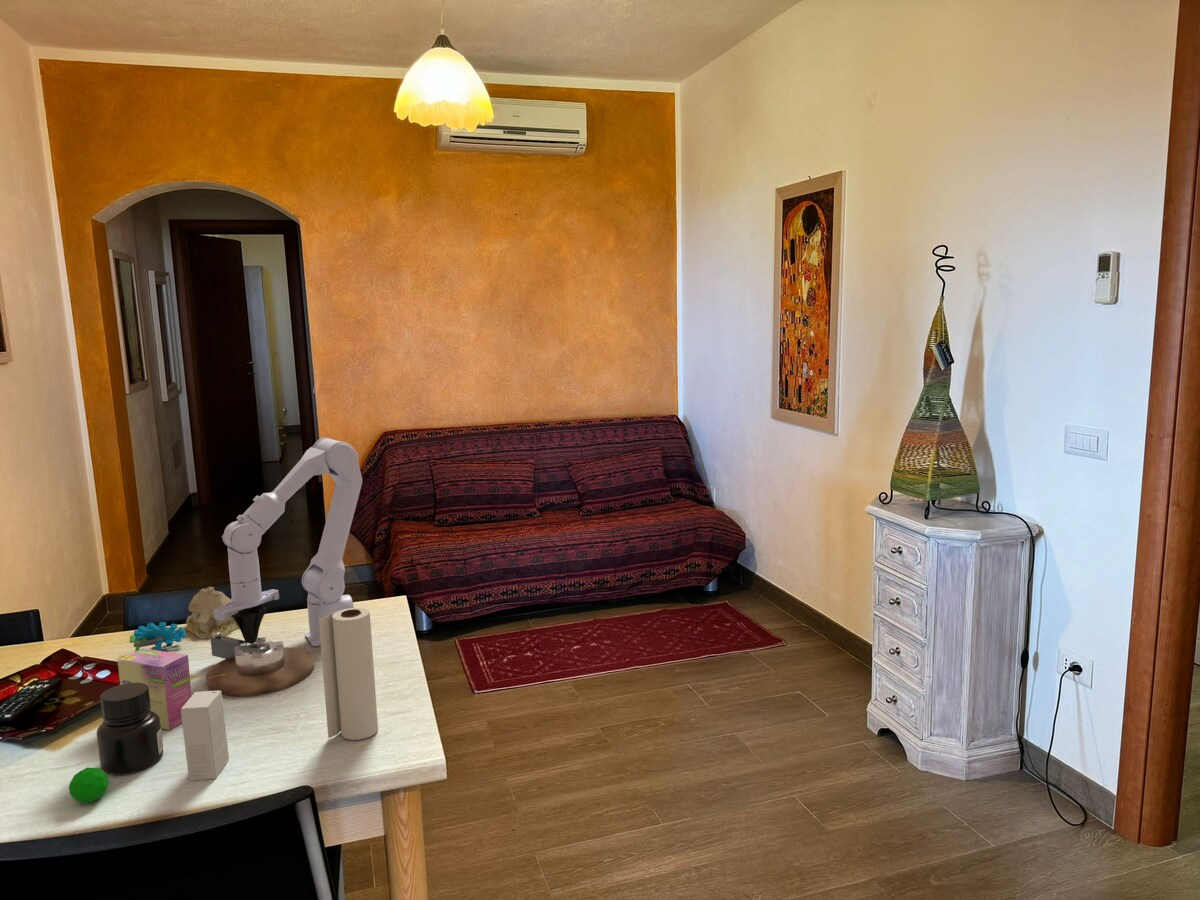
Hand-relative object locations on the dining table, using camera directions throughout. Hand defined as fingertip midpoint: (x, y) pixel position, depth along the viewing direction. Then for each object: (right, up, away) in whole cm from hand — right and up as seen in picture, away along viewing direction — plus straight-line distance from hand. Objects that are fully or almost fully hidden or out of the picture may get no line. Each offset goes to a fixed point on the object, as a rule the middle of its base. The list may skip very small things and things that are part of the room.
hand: (251, 642), depth 177 cm
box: (-6, -8, -26) cm, 28 cm away
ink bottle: (-2, -10, -40) cm, 42 cm away
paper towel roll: (+31, -8, -32) cm, 46 cm away
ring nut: (+1, -3, -6) cm, 7 cm away
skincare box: (+11, -11, -44) cm, 46 cm away
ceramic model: (-16, -1, +18) cm, 24 cm away
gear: (-22, -3, +6) cm, 23 cm away
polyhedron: (-3, -12, -51) cm, 52 cm away
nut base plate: (+5, -5, -8) cm, 10 cm away
